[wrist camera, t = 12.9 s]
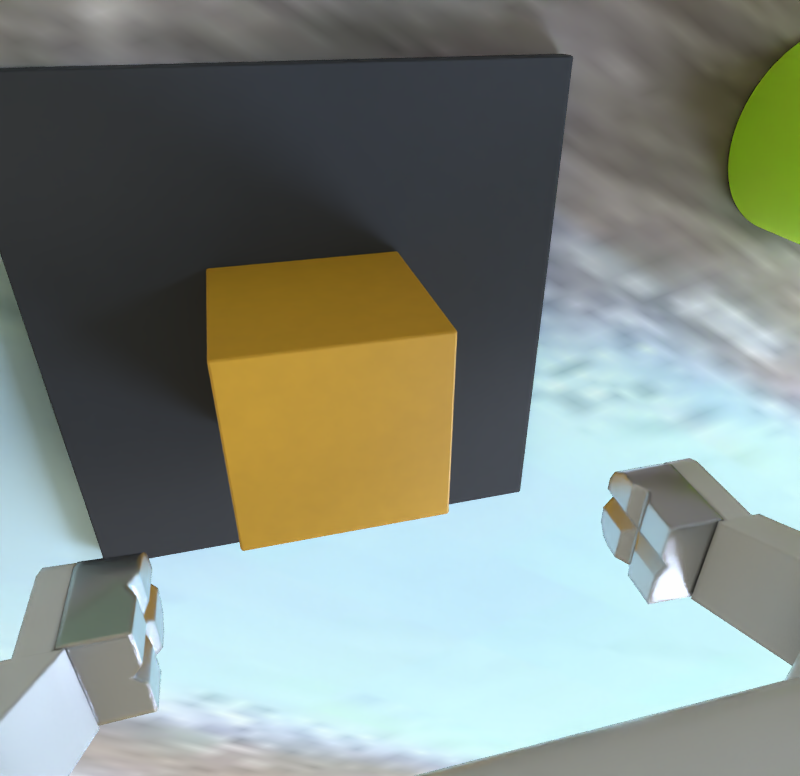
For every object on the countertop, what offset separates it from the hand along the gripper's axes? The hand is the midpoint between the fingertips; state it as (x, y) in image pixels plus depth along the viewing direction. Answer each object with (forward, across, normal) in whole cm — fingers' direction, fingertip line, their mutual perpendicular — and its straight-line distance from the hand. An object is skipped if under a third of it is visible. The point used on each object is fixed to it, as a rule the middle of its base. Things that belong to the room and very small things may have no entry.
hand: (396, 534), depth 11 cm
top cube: (+8, 0, 0) cm, 8 cm away
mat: (+9, 0, 0) cm, 9 cm away
